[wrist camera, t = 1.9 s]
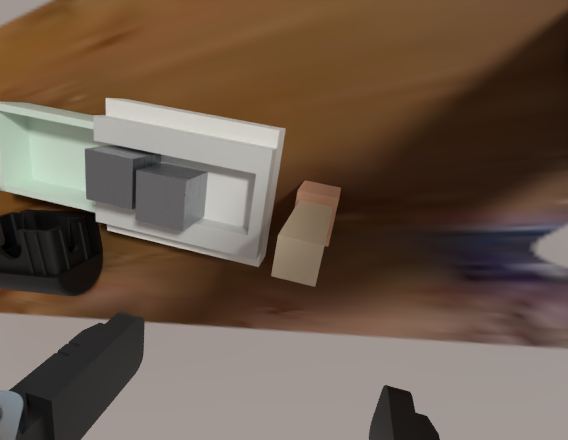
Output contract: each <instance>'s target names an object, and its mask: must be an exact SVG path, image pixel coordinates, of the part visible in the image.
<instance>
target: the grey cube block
mask: <svg viewBox="0 0 568 440" xmlns="http://www.w3.org/2000/svg"><path fill="white" fill-rule="evenodd" d="M207 179H208V172H207V171H202V170H197V169H192V168H187V167H183V166H178V165H173V164H168V163H161V164H157V165H154V166H150V167H146V168H143V169H139V170H136V212H135V220H137V221H141V222H145V223H150V224H154V225H158V226H162V227H167V228H171V229H175V230H179V231H184V230H185V229H187V228H188V227H190V226H191V225H192V224H194V223H195V222H197V221H198V220H200V219H201V218H202V217H204V212H205V201H206V190H207Z"/></svg>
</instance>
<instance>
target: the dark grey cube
mask: <svg viewBox="0 0 568 440" xmlns="http://www.w3.org/2000/svg"><path fill="white" fill-rule="evenodd" d="M157 164H161V154H157V153H152V152H148V151H143V150H138V149H133V148H128V147H123V146H118V145H108V146H101V147H94V148H86V149H85V177H86V199H88V200H92V201H96V202H101V203H105V204H109V205H114V206H118V207H122V208H127V209H131V210H133V209H135V208H136V170H139V169H143V168H146V167H150V166H154V165H157Z"/></svg>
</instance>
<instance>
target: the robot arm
mask: <svg viewBox="0 0 568 440" xmlns="http://www.w3.org/2000/svg"><path fill="white" fill-rule="evenodd" d="M143 348H144V319H143V318H142V317H139V316H135V315H132V314H128V313H124V312H119V313H117V314H116V315H115V316H114V317H113V318H111V319H110V320H109V321H108V322H107V323H106V324H102V323H98V324H96V325H94V326H92V327H90V328H87V329H85V330H83V331H82V332H81V333H79V334H78V335H77V336H75V337H74V338H73V339H72V340H71V341H69V343H68V344H66V345H64V346H63V347H62V348H61V349H59V350H58V352H57V353H55V354H53V355H52V356H51V357H50V358H48V359H47V360H46V361H45V362H44V363H42V364H41V365H40V366H39V367H37V368H36V369H35V370H34V371H32V372H31V373H30V374H29V375H28V376H27V377H25V378H24V379H23V380H21V381H20V382H19V383H18V384H17V385H15V386H14V387H13V388H11V389H10V390H9V391H0V440H81V438H82V437H83V436H84V435H85V434H86V432H87V431H88V430H89V429H90V428H91V426H92V425H93V424H94V423H95V422H96V420H97V419H98V418H99V417H100V416H101V414H102V413H103V412H104V411H105V410H106V408H107V407H108V406H109V405H110V404H111V402H112V401H113V400H114V399H115V397H116V396H117V395H118V394H119V393H120V391H121V390H122V389H123V388H124V387H125V385H126V384H127V383H128V382H129V380H130V379H131V378H132V377H133V376H134V375H135V373H136V372H137V370H138V368H139V366H140V364H141V362H142V358H143V350H144V349H143ZM369 440H440V439H439V435H438V433H437V431H436V429H435V428H434V426H433V425H432V423H431V422H430V420H429V418H428V417H427V416H425V415H422V414H418V413H415V409H414V403H413V399H412V395H411V393H410V392H408V391H405V390H401V389H398V388H394V387H390V386H387V385H385V386H384V387H383V389H382V392H381V395H380V398H379V401H378V404H377V407H376V410H375V413H374V416H373V419H372V422H371V426H370V432H369Z"/></svg>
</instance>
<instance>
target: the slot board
mask: <svg viewBox="0 0 568 440" xmlns="http://www.w3.org/2000/svg"><path fill="white" fill-rule="evenodd" d="M93 121H94V141H99V142H104V143H106V146H108V145H118V146H123V147H128V148H133V149H138V150H143V151H148V152H152V153H157V154H161V163H168V164H173V165H178V166H183V167H187V168H192V169H197V170H202V171H207V172H208V179H207V190H206V201H205V212H204V217H202V218H201V219H200V220H198V221H197V222H195V223H194V224H192V225H191V226H190V227H188V228H187V229H185V230H184V231H179V230H175V229H171V228H167V227H162V226H158V225H154V224H150V223H145V222H141V221H137V220H135V212H136V208H135V209H133V210H131V209H127V208H122V207H118V206H114V205H109V204H105V203H101V202H96V201H95V212H96V222H100V223H104V224H107V230H108V231H112V232H116V233H120V234H124V235H128V236H133V237H137V238H141V239H145V240H149V241H153V242H157V243H161V244H165V245H170V246H174V247H178V248H182V249H186V250H190V251H194V252H198V253H202V254H207V255H211V256H215V257H219V258H223V259H227V260H231V261H235V262H239V263H243V264H248V265H252V266H256V267H259V266H260V264H261V262H262V261H263V259H264V257H265V255H266V249H267V243H268V236H269V230H270V224H271V218H272V211H273V205H274V199H275V193H276V186H277V180H278V174H279V168H280V161H281V155H282V149H283V143H284V136H285V130H286V129H284V128H279V127H273V126H268V125H263V124H257V123H252V122H247V121H241V120H236V119H230V118H225V117H220V116H214V115H209V114H203V113H198V112H193V111H187V110H182V109H176V108H171V107H166V106H160V105H155V104H150V103H144V102H139V101H133V100H128V99H117V98H106V115H93Z"/></svg>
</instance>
